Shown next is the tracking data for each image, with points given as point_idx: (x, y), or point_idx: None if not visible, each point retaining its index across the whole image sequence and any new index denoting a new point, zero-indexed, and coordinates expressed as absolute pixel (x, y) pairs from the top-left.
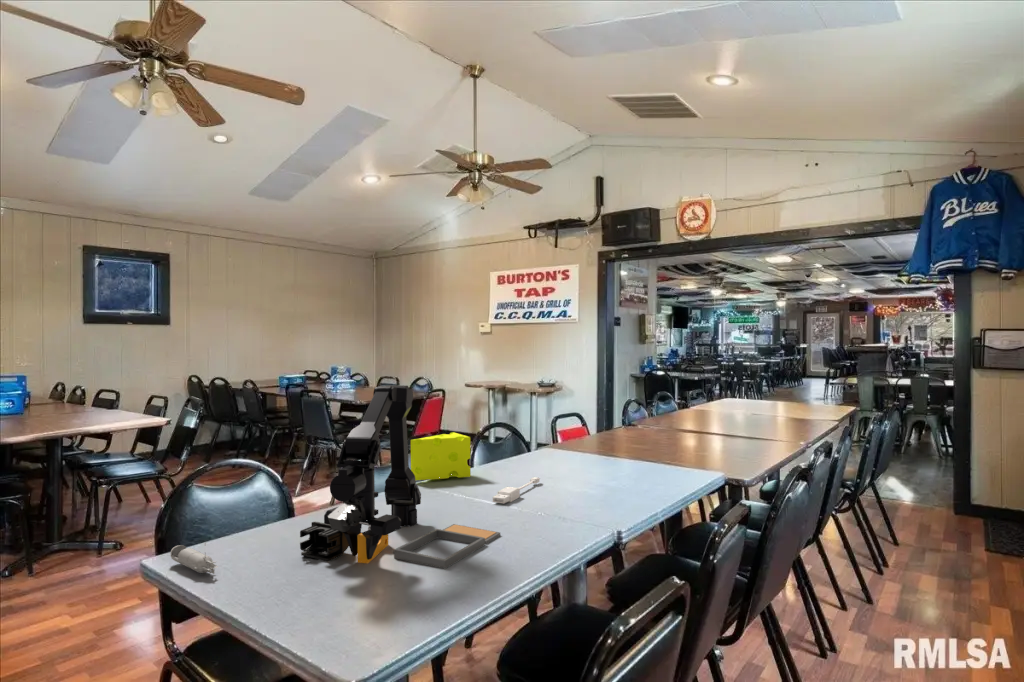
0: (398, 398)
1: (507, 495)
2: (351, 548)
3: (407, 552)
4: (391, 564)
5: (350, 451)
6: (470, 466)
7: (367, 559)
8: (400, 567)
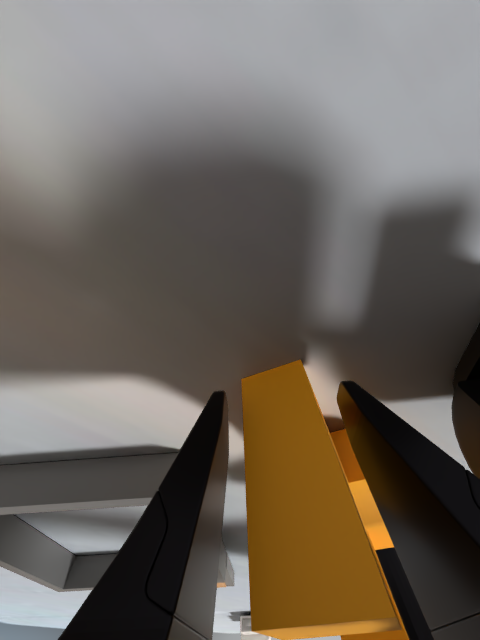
0: None
1: (246, 634)
2: (384, 421)
3: (100, 501)
4: (136, 417)
5: None
6: None
7: (246, 394)
8: (71, 417)
